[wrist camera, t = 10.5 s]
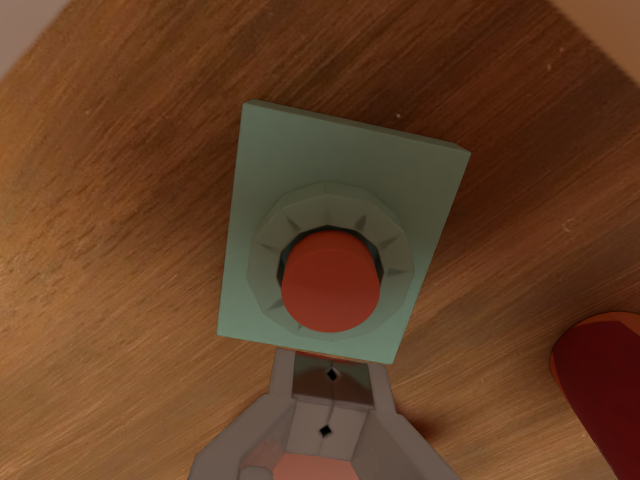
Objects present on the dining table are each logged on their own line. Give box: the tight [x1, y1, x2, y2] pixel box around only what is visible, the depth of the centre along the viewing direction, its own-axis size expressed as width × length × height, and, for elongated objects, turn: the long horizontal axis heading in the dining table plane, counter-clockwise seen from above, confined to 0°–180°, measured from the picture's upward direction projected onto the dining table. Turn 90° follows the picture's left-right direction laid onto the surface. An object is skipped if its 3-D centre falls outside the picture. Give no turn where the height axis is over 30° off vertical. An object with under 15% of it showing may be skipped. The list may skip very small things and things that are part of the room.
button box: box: [216, 99, 471, 364], centre depth 16 cm, size 11×9×4 cm
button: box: [281, 230, 380, 333], centre depth 14 cm, size 4×4×2 cm
